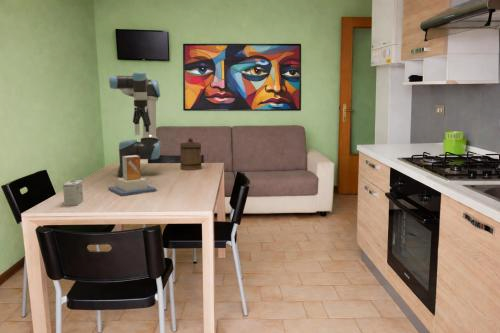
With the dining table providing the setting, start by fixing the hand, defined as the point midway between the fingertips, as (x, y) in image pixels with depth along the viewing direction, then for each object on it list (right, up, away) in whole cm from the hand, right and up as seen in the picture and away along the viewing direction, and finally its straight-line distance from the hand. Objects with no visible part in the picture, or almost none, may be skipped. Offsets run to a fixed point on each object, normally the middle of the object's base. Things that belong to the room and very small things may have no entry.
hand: (142, 136), depth 277 cm
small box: (-3, -25, -12) cm, 28 cm away
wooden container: (+21, -19, +63) cm, 69 cm away
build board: (-3, -31, -11) cm, 33 cm away
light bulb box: (-25, -36, -39) cm, 59 cm away
